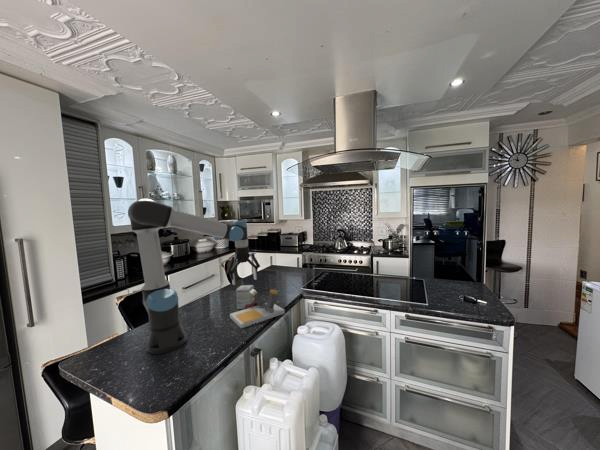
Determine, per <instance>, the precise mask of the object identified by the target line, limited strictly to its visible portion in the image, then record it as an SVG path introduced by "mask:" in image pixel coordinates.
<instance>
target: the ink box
mask: <svg viewBox="0 0 600 450" xmlns="http://www.w3.org/2000/svg"><path fill="white" fill-rule="evenodd" d="M252 289H254V290H255V287H254V284H248V285H247V284H245V285H241V284H240V286H238V287H237V288H236V289H235V295H236V306H237V307H236V309H238V310H244V309H247V308H251V307H254V306H255V304H256V300H255V299H254V297H253V296H252V295H251V294H250V291H251V290H252Z"/></svg>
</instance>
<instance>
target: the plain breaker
mask: <svg viewBox="0 0 600 450" xmlns="http://www.w3.org/2000/svg"><path fill="white" fill-rule="evenodd" d="M250 294H251V295H252V296H253V297H254V299H255V302H257V303H256V304H257V305H258V304H259V305H261V306H262V304H263V303H265V302H264V300H263V299H262V298H261V296H260V295H259V293H258V292H257V290H256V289H255V288H254V289H252V290H251V291H250Z"/></svg>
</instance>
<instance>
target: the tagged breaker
mask: <svg viewBox="0 0 600 450" xmlns="http://www.w3.org/2000/svg"><path fill="white" fill-rule="evenodd" d="M277 295H278V290H275V289H271V288H270V289H269V294H268V297H267V301H266V303H267V304H266V309H267V310H269V309H271V308H273V307H274V304H276V299H277Z"/></svg>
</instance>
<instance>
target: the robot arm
mask: <svg viewBox="0 0 600 450" xmlns="http://www.w3.org/2000/svg"><path fill="white" fill-rule="evenodd" d="M127 215H128V218H129V221H130V226H131V231H132V232H133V233H135V234H136V239H137V244H138V251H139V256H140V262H141V268H142V274H143V280H144V285H143V286H142V287H141V292H142V305H143V306H144V309H145V310H146V312H147V315H148V323H149V331H150V332H149V335H148V339H147V344H146V348H147V349H146V350H147V351H146V352H147V353H149V354H152V355H164V354H168V353H170V352H173V351H175V350H177V349H179V348H181V347H182V346H183V345H184V344H185V343H186V341H187V335H186V332H185V330H184V328H183V326H182V325H181V319H180V308H179V307H180V306H179V296H178V292H177V291H176V290H175V289H172V288H171V285H170V284H171V283H170V281H169V280H167V279H166V274H165V268H164V262H163V255H162V249H161V248H162V247H161V241H160V236H159V230H161V228H168V227H171V228H176V229H181V230H184V231H188V232H194V233H197V234H201V235H205V236H211V237H212V238H213V239H214V240H215V241H222V240H225V241H230V242H231V241H232V242H234V247H235V256H231V257H230V260H229V261H230V262H229V264H228V267H227V269H226V274H228V275H229V279H230V280H231V283H232V285H233V286H236V277H235V273H234V272H235V271H236V269H237V268H238V266H239V265H240V263H241V264H243V263H247V262H248V263H249V264H250V266H252V267H253V268H252V270H253V273H252V275H253V280H255V281H256V280H258V277H257V274H258V273H259V272H258V269H259V268H261V265H260V263H259V262H258V260H257V258H256V256H255V253H254V252H251V253H250V251H249V250H250V249H249V238H248V235H249V234H248V226H247V221H246V220H243V219H242V220H234V221H233V222H232V223H233V224H227V223H223V222H219V221H216V220H213V219H209V218H205V217H201V216H198V215H194V214H190V213H188V212H184V211H180V210H176V209H174V208H173V207H172V206H170V205H166V204H163V203H161V202H158V201H156V200H153V199H150V198H141V199H139V200H136V201H134V202H133V203H131V204H130V206H129V207H128V210H127ZM250 258H251V259H252V260H251V259H250ZM235 260H236V261H235ZM252 261H253V262H252Z"/></svg>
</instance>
